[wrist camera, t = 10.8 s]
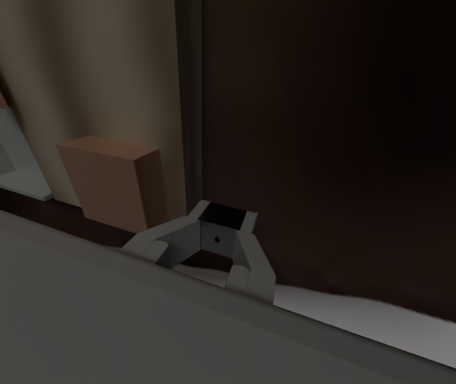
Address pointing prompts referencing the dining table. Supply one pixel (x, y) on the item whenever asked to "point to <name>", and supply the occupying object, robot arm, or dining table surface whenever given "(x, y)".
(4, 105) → the tile
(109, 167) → the tile
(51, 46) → the board
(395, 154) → the dining table surface
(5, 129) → the tray
